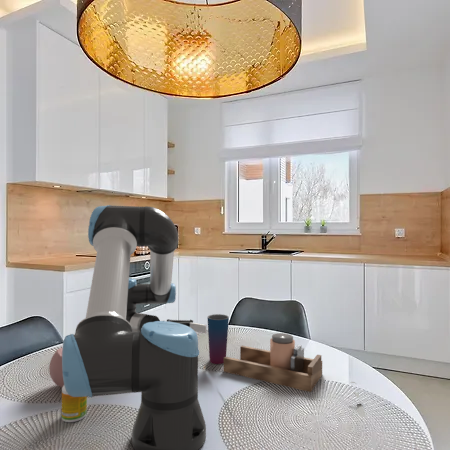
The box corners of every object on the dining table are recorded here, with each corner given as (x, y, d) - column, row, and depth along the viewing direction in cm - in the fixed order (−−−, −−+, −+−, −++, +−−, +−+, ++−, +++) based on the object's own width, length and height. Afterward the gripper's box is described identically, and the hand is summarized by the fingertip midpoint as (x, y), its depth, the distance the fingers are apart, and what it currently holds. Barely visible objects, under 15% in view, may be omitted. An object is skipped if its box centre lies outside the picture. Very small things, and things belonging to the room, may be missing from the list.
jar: (298, 378, 101) (299, 339, 100) (276, 381, 99) (276, 341, 99) (287, 369, 107) (288, 331, 107) (266, 371, 105) (266, 333, 105)
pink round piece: (99, 391, 94) (99, 348, 94) (48, 401, 88) (49, 355, 88) (94, 374, 105) (94, 335, 105) (49, 382, 99) (49, 341, 99)
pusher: (290, 383, 97) (290, 351, 97) (300, 371, 105) (300, 342, 105) (294, 384, 96) (294, 352, 96) (303, 371, 105) (304, 342, 104)
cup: (218, 370, 108) (218, 321, 108) (202, 364, 113) (203, 316, 113) (232, 363, 113) (233, 316, 113) (217, 358, 118) (217, 313, 118)
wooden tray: (223, 374, 105) (223, 351, 105) (241, 360, 116) (242, 339, 116) (310, 395, 93) (311, 368, 93) (322, 377, 104) (322, 353, 104)
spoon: (360, 388, 98) (360, 382, 98) (375, 430, 78) (375, 422, 78) (345, 386, 99) (345, 380, 99) (355, 427, 79) (355, 420, 79)
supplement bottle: (83, 422, 80) (84, 379, 80) (58, 424, 79) (58, 380, 79) (88, 409, 85) (89, 369, 85) (65, 411, 84) (65, 370, 84)
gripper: (167, 326, 139) (214, 335, 128) (119, 345, 117) (171, 358, 106) (167, 307, 138) (214, 314, 128) (119, 323, 117) (172, 333, 106)
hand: (195, 334), depth 117 cm, fingers open, 13 cm apart
